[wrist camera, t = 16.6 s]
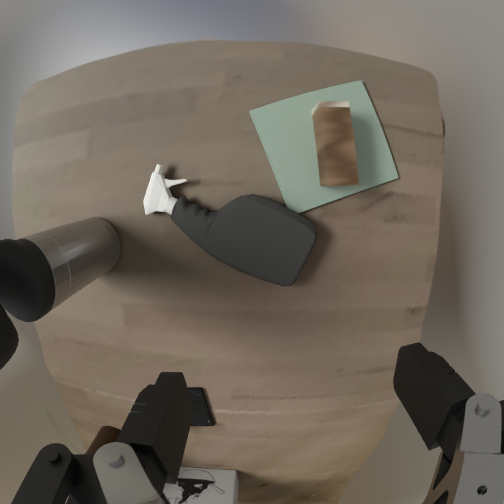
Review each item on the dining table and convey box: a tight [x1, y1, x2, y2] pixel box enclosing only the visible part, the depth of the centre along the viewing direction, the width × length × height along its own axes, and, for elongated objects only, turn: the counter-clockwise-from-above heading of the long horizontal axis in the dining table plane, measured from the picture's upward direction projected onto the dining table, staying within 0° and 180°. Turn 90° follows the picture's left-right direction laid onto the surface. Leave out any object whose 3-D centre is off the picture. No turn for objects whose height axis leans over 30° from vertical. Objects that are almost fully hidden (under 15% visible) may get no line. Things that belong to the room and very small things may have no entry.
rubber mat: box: [249, 80, 399, 213], centre depth 37 cm, size 18×16×1 cm
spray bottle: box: [143, 164, 317, 286], centre depth 38 cm, size 3×11×24 cm
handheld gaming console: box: [188, 387, 214, 426], centre depth 46 cm, size 12×7×10 cm
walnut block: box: [311, 101, 359, 186], centre depth 34 cm, size 4×5×11 cm
